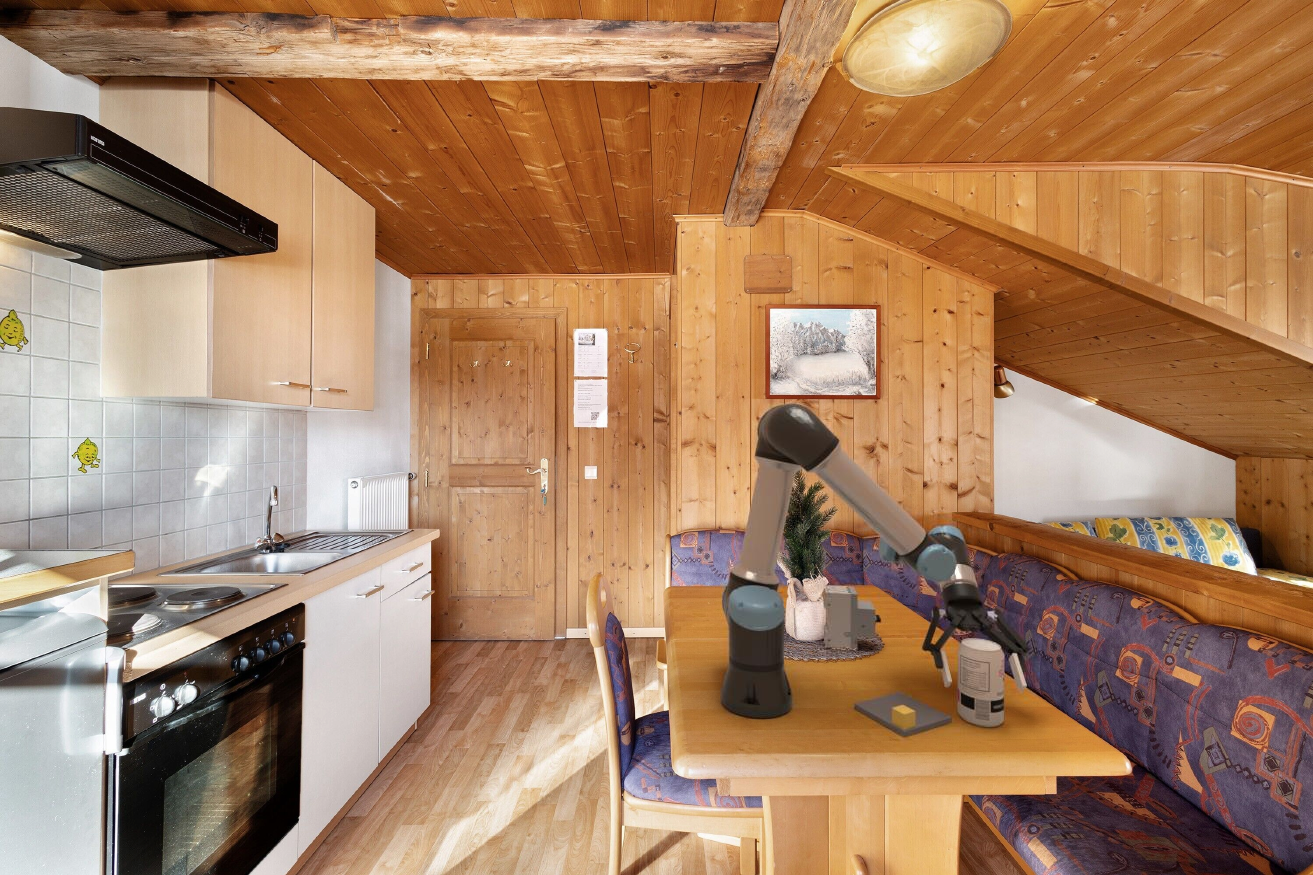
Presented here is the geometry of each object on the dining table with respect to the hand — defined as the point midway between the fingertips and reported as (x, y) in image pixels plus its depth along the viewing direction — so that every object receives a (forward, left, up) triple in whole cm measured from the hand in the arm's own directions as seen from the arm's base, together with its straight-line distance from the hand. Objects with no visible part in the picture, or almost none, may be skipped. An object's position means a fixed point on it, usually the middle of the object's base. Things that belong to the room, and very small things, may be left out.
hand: (985, 686), depth 119 cm
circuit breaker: (+7, +44, -8) cm, 45 cm away
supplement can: (+1, +2, -8) cm, 8 cm away
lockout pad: (-12, +10, -7) cm, 17 cm away
